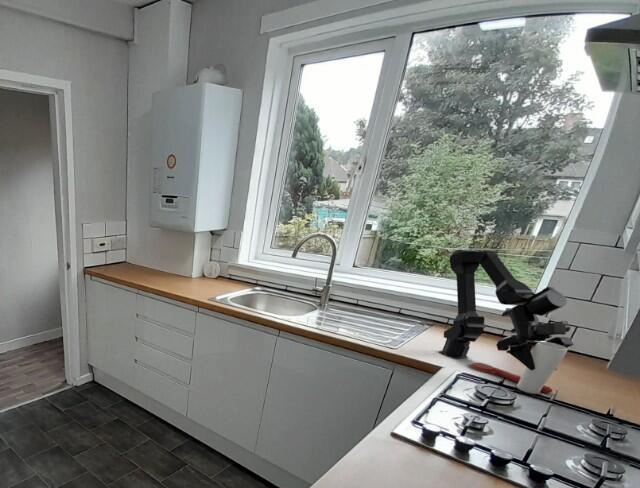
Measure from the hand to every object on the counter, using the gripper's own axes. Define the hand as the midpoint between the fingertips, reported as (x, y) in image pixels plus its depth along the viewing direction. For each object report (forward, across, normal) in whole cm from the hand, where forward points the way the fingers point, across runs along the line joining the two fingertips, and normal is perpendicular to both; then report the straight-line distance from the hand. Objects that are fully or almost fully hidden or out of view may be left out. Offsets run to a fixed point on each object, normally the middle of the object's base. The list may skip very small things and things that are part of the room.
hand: (543, 370), depth 120 cm
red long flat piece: (-2, +2, +13) cm, 13 cm away
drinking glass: (+4, 0, +6) cm, 8 cm away
